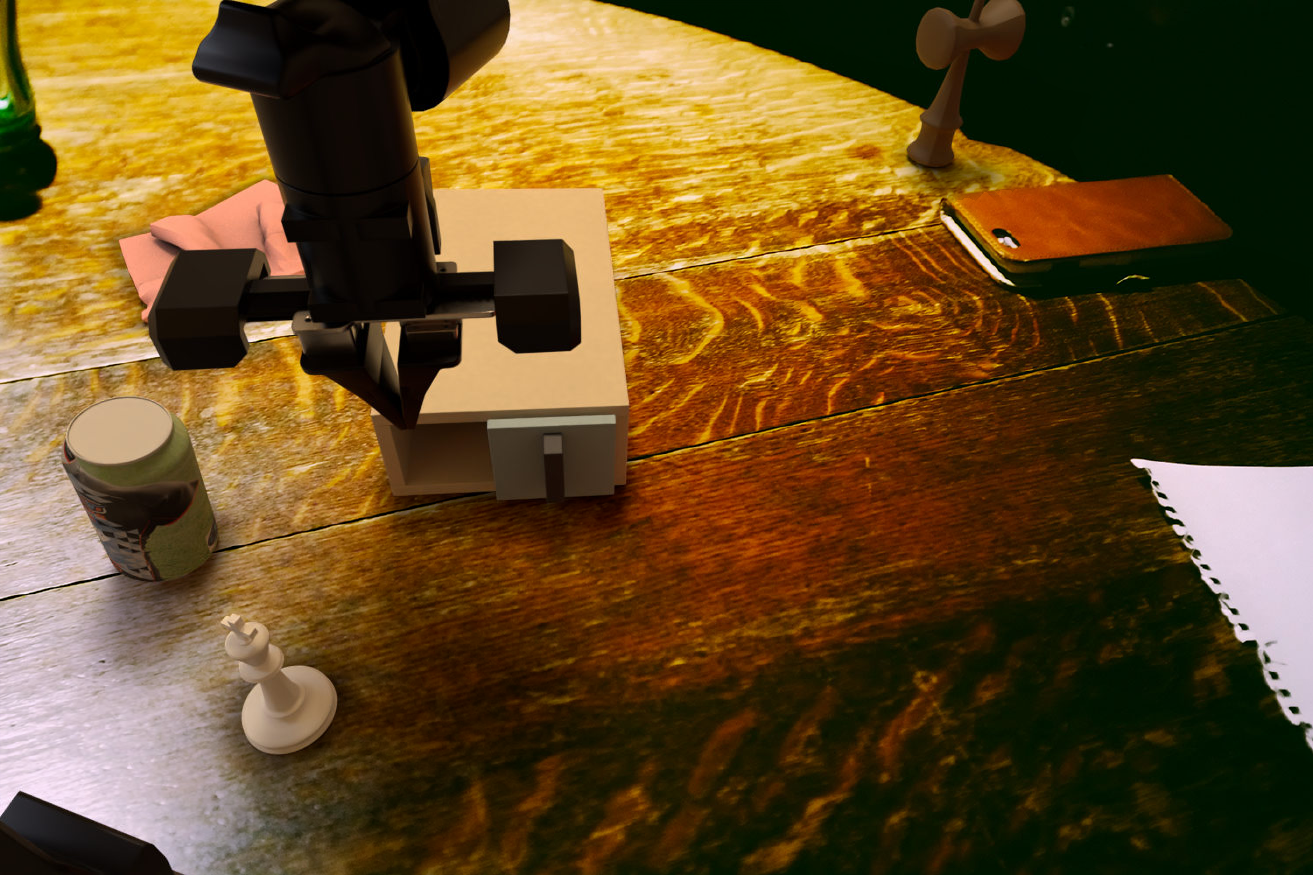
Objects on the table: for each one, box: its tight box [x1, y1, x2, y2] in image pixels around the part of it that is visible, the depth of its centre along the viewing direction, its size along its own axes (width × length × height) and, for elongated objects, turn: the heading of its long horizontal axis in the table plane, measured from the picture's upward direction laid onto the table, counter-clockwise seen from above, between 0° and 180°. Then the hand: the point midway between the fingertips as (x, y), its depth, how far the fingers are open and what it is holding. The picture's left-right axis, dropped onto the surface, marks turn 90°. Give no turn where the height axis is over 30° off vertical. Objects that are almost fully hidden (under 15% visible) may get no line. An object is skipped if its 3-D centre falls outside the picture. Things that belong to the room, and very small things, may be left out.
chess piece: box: [219, 612, 338, 755], centre depth 42 cm, size 5×5×10 cm
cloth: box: [118, 178, 305, 323], centre depth 74 cm, size 20×22×2 cm
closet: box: [370, 187, 630, 497], centre depth 63 cm, size 26×16×8 cm, turn 6°
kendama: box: [906, 0, 1026, 168], centre depth 85 cm, size 6×10×20 cm, turn 117°
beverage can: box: [60, 395, 219, 583], centre depth 48 cm, size 6×7×12 cm
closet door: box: [487, 415, 616, 505], centre depth 54 cm, size 3×8×7 cm, turn 96°
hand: (408, 423), depth 45 cm, fingers closed
